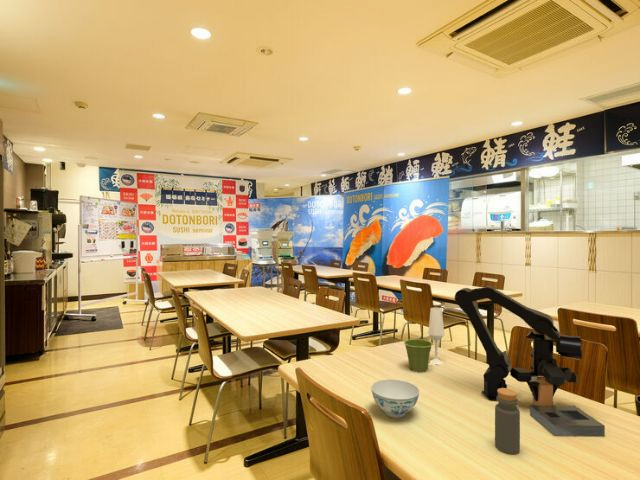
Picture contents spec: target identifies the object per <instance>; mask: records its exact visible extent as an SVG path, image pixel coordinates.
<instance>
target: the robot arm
mask: <svg viewBox="0 0 640 480" xmlns="http://www.w3.org/2000/svg"><path fill="white" fill-rule="evenodd" d="M486 299H488V300H490V301H492V302H494V303H495V304H497V305H499V306H500V307H502V308H504V309H506V310H507V311H508V312H510V313H512V314H513V315H515V316H517V317H519V318H520V319H521V320H523V322H525V324H526V325H527V326H529V327H530V329H532V330H531V331H530V332H529V333H526V334H527V335H526V338H527V339H531V340H532V353H530V357H531V358H532V365H530V369H531V370H527V369H526V368H524V367H512V360H511V358H510V357H509V355H508V352H507V350H504V351H502V350H501V349H500V348H499V347H498V345H497V343H496V342H495V340H494V338H493V336H492V334H491V332H490V330H489V328H488V326H487V324H486V322H485V320H484V317H483V316H482V313H481V312H480V310H479V303H478V301H481V300H486ZM454 301H455V303H456V304H457V306H458V307H459V309H460V310H462V311H463V312H464V313H465V314H466V315H467V317H468V319H469V321H470V324H471V326H472V328H473V330H474V331H475V333H476V336H477V338H478V339H479V342H480V344H481V345H482V347H483V349H484V351H485V355H486V359H487V364H488V367H487V369H486V370H485V372H484V374H483V390H481V394H482V395H483V396H484V397H485V398H486V399H488V400H489V401H497V396H498V391H497V390H498V389H499V388H508V384H507V383H506V382H507V381H506V378H507V377H508V376H509V375H510V376H511V377H512V378H513V379H514V380H515V381H517V382H520V383H526V384H527V386H528V388H529V391H530V392H531V395H532V398H533V397H534V399H535V401H538V386H539V384H540V383H539V382H537V380H538V378H544V379H545V380H546V381H547V382H548V383H549V384H551V385H553V397H554V396H555V394H556V392H557V390H558V388H559V387H561V386H563V385H564V386H565V384H566V382H567V383H577V382H578V375H577V374H576V372H575V371H573V370H572V369H571V368H569V367H568V366H566V367H565V366H564V367H561V366H558V364H557V359H556V358H554V343H555V353H557V355H559V356H560V357H564V358H571V359H577V360H582V357H583V351H582V337H581V336H579V335H578V336H577V335H566V334H561V332H560V330H559V329H558V328H557V327H556V326H555V325H554V323H555V322H554V319H553V317H552V316H551V315H549V314H548V313H545V312H542V311H539V310H537V309H533V308H530V307H527V306H526V305H524V304H523V303H521V302H519V301H517V300H515V299H514V298H512V297H510V296H509V295H507V294H505V293H503V292H502V291H500V290H498V289H496V288H495V287H494V286H492V285H487V286H485V287H483V286H482V287H478V288H477V287H476V288H469V287H464V288H460V289H459V290H457V291H456V292H455V294H454Z"/></svg>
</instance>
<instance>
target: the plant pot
mask: <svg viewBox="0 0 640 480" xmlns="http://www.w3.org/2000/svg"><path fill="white" fill-rule="evenodd" d="M403 344H404V346H405V350H406V355H407V361H408V367H409V370H411V369H412V370H411V371H413V370H414V371H413V372H416V371H417V372H420V373H424V372H426V370H427V371H428V368H429V361H430V354H431V350H432V347H433V345H434V343H433V342H432V341H430V340H427V339H421V338H410V339H406V340H404V341H403ZM423 371H424V372H423Z"/></svg>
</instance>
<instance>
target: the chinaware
mask: <svg viewBox="0 0 640 480" xmlns="http://www.w3.org/2000/svg"><path fill="white" fill-rule="evenodd" d="M370 390H371V394H372V398H373V400H374V402H375V404H377V406H378V407H379V408H380V409H381V410H382V411H383V413H384V414H385V415H386V416H388V417H390V418H396V419H397V418H398V419H399V418H403V417H404V416H406V414H407V413H408V412H410V411H411V410H412V409H413V408H414V407H415V406H416V404H417V402H418V399H419V396H420V389H419V387H418V386H417V385H415V384H414V383H411V382H409V381H406V380H402V379H396V378H395V379H394V378H393V379H391V378H389V379H388V378H387V379H380V380H377V381H375V382H373V383H372V384H371V386H370Z"/></svg>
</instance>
